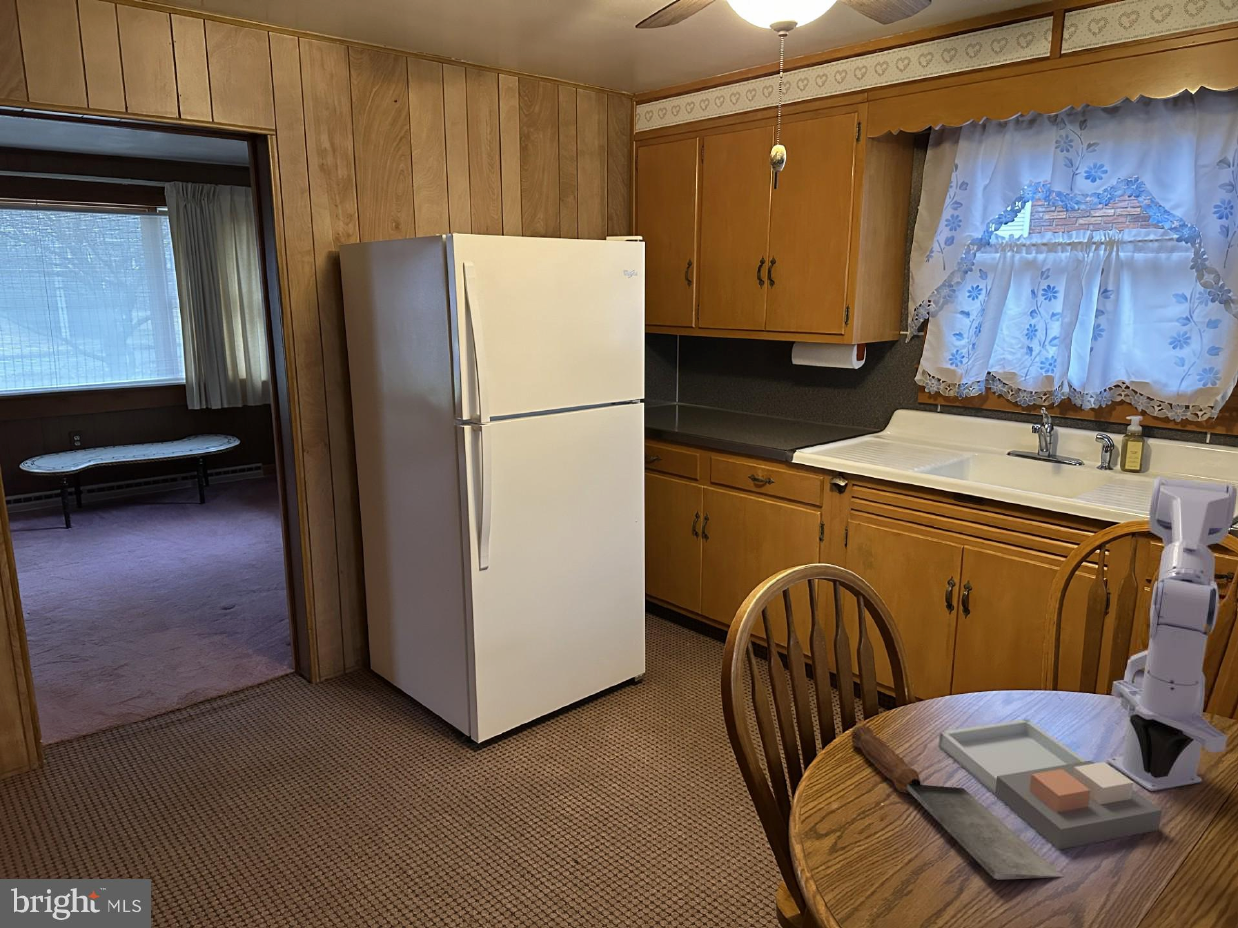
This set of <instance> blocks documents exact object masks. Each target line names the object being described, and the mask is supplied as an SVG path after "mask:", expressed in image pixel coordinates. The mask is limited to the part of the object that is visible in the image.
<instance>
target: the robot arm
mask: <svg viewBox="0 0 1238 928" xmlns="http://www.w3.org/2000/svg"><path fill="white" fill-rule="evenodd" d="M1237 490H1238V489H1237V488H1236V487H1235V485H1233V484H1232V483H1230V484H1229V483H1228V484H1222V483H1214V482H1205V481H1196V480H1189V479H1187V480H1186V479H1180V478H1169V477H1163V476H1161V475H1159V476H1157V478H1154V480H1153V486H1152V493H1151V499H1150V507H1149V513H1148V515H1149V519H1148V526H1149V527H1150V528H1149V531H1150V533H1152V534H1154V535H1156V536H1157V537H1159V538H1161V539H1162V544H1163V547H1164V549H1163V550H1162V552H1161V557H1160V565H1159V573H1158V580H1156V581H1155V583H1154V585H1153V589H1152V596H1151V603H1150V610H1149V619H1150V623H1149V624H1150V627H1149V640H1148V641H1149V642H1148V648H1147V649H1146V650H1144V651H1141V652H1138V653H1136V654H1133V655H1131V656H1130V659H1128V660H1127V666H1126V669H1125V671H1124V677H1123V679H1122V680H1116V681H1113V682H1112V688H1111V689H1112V690H1111V696H1113V697H1115V698H1117V699H1120V706H1121V707H1122V709H1123V710H1125V711H1128V713H1127V715H1128V717H1127V718H1128V719H1127V725H1126V730H1125V731H1126V732H1125V739H1124V745H1123V751H1122V755H1119V756H1113V757H1109V758H1107V759H1106V761H1107V764H1110V766H1112V767H1114V768H1116V769H1117V770H1118V771H1120V772H1121V773H1123V774H1125V775H1126V776H1127V777H1129V779H1132V780H1133V781H1135V782H1136V783H1138V784H1139V785H1140V786H1142V787H1144V788H1145V789H1146V790H1148V791H1151V792H1153V791H1158V790H1159V791H1160V790H1164V789H1171V788H1176V787H1181V786H1187V785H1192V784H1199V783H1201V782H1202V779H1203V778H1202V777H1200V776H1199V775H1198V770H1199V764H1200V758H1201V753H1202V747H1203V746H1204V750H1205V751H1207V752H1209V753H1211V754H1214V753H1221V752H1225V750H1226V746H1227V740H1228V735H1226V734H1224V733H1222V732H1221V731H1220V730H1218V729H1216V728H1215V727H1214V726H1213V725H1212V724H1211V723H1210V722H1208V721H1207V720H1206V719H1205V718H1204V717H1203V709H1204V703H1205V702H1204V701H1205V693H1206V691H1205V690H1206V687H1205V686H1206V676H1205V675H1204V672H1203V667H1204V659H1205V655H1206V648H1207V642H1208V636H1209V634H1210V635H1211V634H1212V632H1213V630H1214V629H1215V626H1216V624H1217V623H1216V622H1217V617H1218V611H1219V603H1220V596H1219V588H1218V585H1217V582H1216V581H1215V567H1216V565H1215V563H1216V557H1215V554H1214V553H1213V552H1212V550H1211V549H1210V548H1209V547H1208V546H1210V545H1213V544H1214V545H1215V544H1219V543H1223V542H1224V539H1225V537H1227V536H1228V533H1229V531H1230V527H1231V526H1232V523H1233V522H1234V521H1233V520H1234V517H1235V511H1236V506H1237V505H1236V503H1237V496H1238V491H1237ZM1206 625H1207V627H1208V631H1207V629H1206ZM1142 669H1144V670H1142Z"/></svg>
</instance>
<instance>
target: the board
mask: <svg viewBox="0 0 1238 928" xmlns="http://www.w3.org/2000/svg"><path fill="white" fill-rule="evenodd" d="M1089 764H1095V762H1094V761H1092V760H1086V761H1085V762H1079V763H1073V764H1067V765H1061V766H1055V767H1049V768H1043V769H1037V770H1031V771H1025V772H1019V773H1013V774H1007V775H1001V776H997V781H996V790H995V795H994V796H995V797H996V798H998V799H999V800H1000V801H1001V802H1002V803H1004V805H1006V806H1007V807H1008V808H1009V809H1010V810H1011V811H1013V813H1015V814H1016V815H1017V816H1018V817H1020V818H1021V819H1022V820H1023V821H1024V822H1026V823H1027V824H1028V825H1029V826H1030V827H1031V828H1032V829H1034V830H1035V831H1036V832H1037V833H1038V834H1040V835H1041V836H1042V837H1043V838H1044V839H1045V840H1046V841H1047V842H1049V843H1050V844H1051V845H1052V846H1053V847H1054V848H1055V849H1057V850H1063V849H1065V850H1066V849H1070V848H1073V847H1074V848H1075V847H1079V846H1084V845H1089V844H1094V843H1100V842H1105V841H1109V840H1115V839H1120V838H1125V837H1129V836H1135V835H1141V834H1145V833H1151V832H1156V831H1159V830H1160V825H1161V817H1162V812H1163V811H1162V809H1161V808H1160V807H1158V806H1157V805H1155V804H1154V803H1153V802H1151V801H1149V800H1148V799H1146V798H1145V797H1144V796H1142V795H1141V794H1140V793H1138V792H1137V791H1136V790H1134V789H1132V795H1131V799H1128V800H1122V801H1117V802H1111V803H1106V804H1101V805H1100V804H1099V803H1098V802H1096V801H1095V800H1094V799H1092V798H1091V797H1089V804H1088V807H1084V808H1079V809H1073V810H1068V811H1062V812H1055V811H1054V810H1053V809H1052V808H1050V807H1049V806H1048V805H1047V804H1045V803H1044V802H1043V801H1042V800H1041V799H1039V798H1038V797H1037V796H1036V795H1034V794H1033V793H1032V792H1031V791H1029V790H1030V782H1031V774H1035V773H1041V772H1047V771H1053V770H1059V769H1063V770H1064V771H1065V772H1067V773H1068V774H1069V775H1071V776H1072V777H1073V771H1074V767H1077V766H1083V765H1089Z"/></svg>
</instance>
